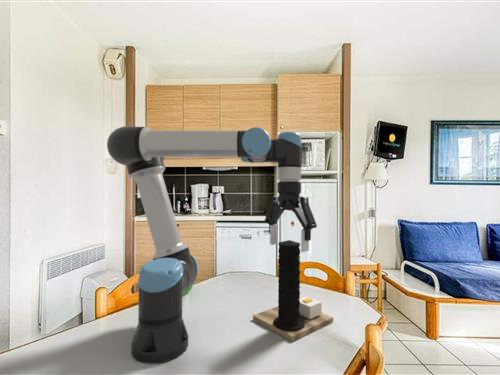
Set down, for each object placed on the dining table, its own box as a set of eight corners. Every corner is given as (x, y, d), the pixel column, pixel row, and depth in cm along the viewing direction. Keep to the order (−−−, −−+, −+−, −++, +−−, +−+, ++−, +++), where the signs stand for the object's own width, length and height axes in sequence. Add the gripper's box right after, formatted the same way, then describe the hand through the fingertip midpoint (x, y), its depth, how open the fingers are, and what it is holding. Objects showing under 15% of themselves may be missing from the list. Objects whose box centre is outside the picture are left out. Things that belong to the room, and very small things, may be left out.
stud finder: (310, 319, 91) (310, 305, 91) (293, 311, 96) (293, 299, 97) (321, 314, 95) (321, 301, 95) (305, 307, 100) (305, 295, 100)
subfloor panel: (292, 341, 81) (292, 336, 81) (253, 319, 95) (253, 314, 95) (333, 321, 93) (333, 317, 93) (292, 304, 107) (292, 300, 107)
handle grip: (306, 332, 83) (303, 317, 93) (306, 243, 84) (303, 237, 94) (272, 330, 84) (273, 315, 94) (273, 242, 85) (273, 237, 95)
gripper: (329, 180, 82) (328, 252, 82) (271, 182, 102) (270, 240, 101) (313, 179, 78) (312, 256, 77) (255, 181, 97) (254, 242, 96)
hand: (288, 247), depth 89 cm, fingers open, 13 cm apart
